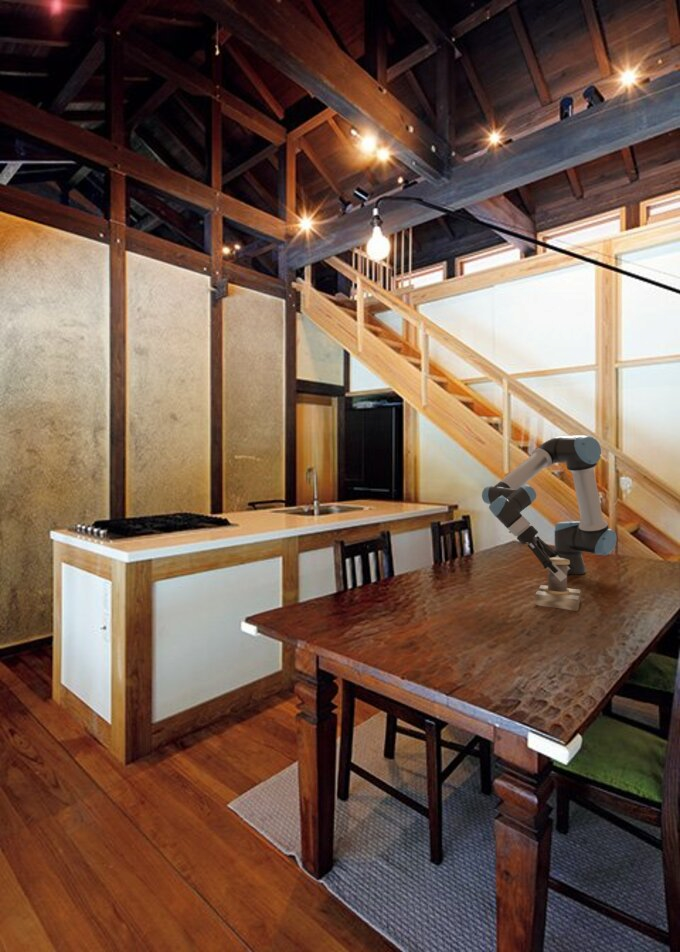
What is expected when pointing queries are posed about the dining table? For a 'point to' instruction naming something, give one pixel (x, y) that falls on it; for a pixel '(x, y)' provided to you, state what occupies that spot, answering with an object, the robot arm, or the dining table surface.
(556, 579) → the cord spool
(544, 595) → the slotted stand
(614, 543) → the robot arm
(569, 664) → the dining table surface
